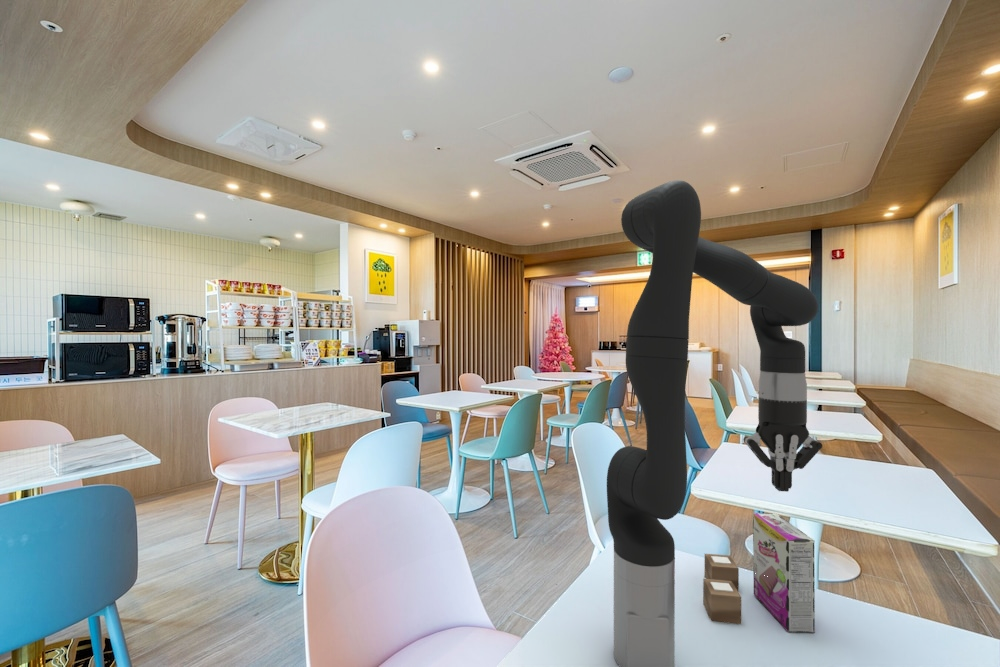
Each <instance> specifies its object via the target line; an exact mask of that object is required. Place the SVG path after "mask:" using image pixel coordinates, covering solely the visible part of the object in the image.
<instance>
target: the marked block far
mask: <svg viewBox="0 0 1000 667" xmlns="http://www.w3.org/2000/svg"><path fill="white" fill-rule="evenodd" d="M739 570H740V568H739V567H738V564H736V562H735V561H734V559H733V558H732V556H731V555H728V554H727V555H726V554H715V553H704V579H714V580H725V581H732V583H733V584H734V586H735V588H736V589H737V591H738V592H739V587H740V586H739V582H740V581H739V579H740V578H739V574H740V573H739ZM739 593H740V592H739Z"/></svg>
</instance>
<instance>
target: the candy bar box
mask: <svg viewBox="0 0 1000 667" xmlns="http://www.w3.org/2000/svg"><path fill="white" fill-rule="evenodd" d="M752 532H753V533H752V537H753V538H752V541H753V543H752V544H753V546H752V549H753V552H752V553H753V559H752V560H753V561H752V562H753V593H752V594H753V596H755V598H756V599H757V600H758V601H759V602H760V603H761V604H762V605H763V606H764V607H765V608H766V609H767V610H768V611H769V613H771V615H772V617H774V619H776V620H777V621H778V623H779V624H780V625H781V626H782V627H783V629H785V630H786V632H787V633H793V634H794V633H795V634H797V633H809V634H810V633H815V632H816V631H815V630H816V629H815V628H816V625H815V623H816V622H815V621H816V620H815V617H816V614H815V613H816V612H815V607H816V606H815V603H816V602H815V598H816V597H815V591H816V590H815V582H816V581H815V576H816V575H815V540H814V538H812V537H810V536H808V534H806V533H804V532H803V531H802V530H800V529H799V528H797V527H796V525H795V526H794V525H793V524H792V523H791V522H789V521H788V520H787V519H785V518H783V517H782V516H781V515H779V514H778V513H776V512H773V513H771V512H770V513H768V512H766V513H765V512H764V513H763V512H762V513H760V512H755V513H752ZM755 573H756V574H755ZM764 575H765V576H764ZM767 576H768V577H767Z"/></svg>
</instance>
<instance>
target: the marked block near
mask: <svg viewBox="0 0 1000 667" xmlns="http://www.w3.org/2000/svg"><path fill="white" fill-rule="evenodd" d="M702 581H703V582H702V584H703V586H702V590H703V591H702V592H703V594H702V595H703V596H702V599H703V600H702V601H703V603H702V605H703V606H704V607H703V608H705V611H706V612H707V615H708V617H709V620H710V621H711V622H714V623H725V624H732V625H735V624H736V625H742V596H741V593H740V592H738V591H737V589H736V588H735V586H734V584H733V583H732V581H725V580H714V579H706V578H703V580H702Z"/></svg>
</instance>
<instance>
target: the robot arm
mask: <svg viewBox="0 0 1000 667" xmlns="http://www.w3.org/2000/svg"><path fill="white" fill-rule="evenodd" d="M621 213H622V214H621V218H620V219H621V220H620V222H621V228H622V231H623V233H624V235H625V237H626V238H627V239H628V240H629V241H630V242H631V243H632V244H633V245H635V246H636V247H638V248H640V249H642V250H645V251H647V252H648V253H651V254H652V261H651V267H650V272H649V276H648V278H647V280H646V284H645V286H644V288H643V290H642V292H641V295H640V296H639V298H638V301H637V302H636V304H635V306H634V308H633V311H632V313H631V316H630V318H629V321H628V324H627V329H626V330H627V332H626V346H625V369H626V373H627V377H628V379H629V382H630V385H631V387H632V389H633V391H634V394H635V396H636V399H637V400H638V404H639V406H640V409H641V411H642V413H643V414H642V415H643V417H644V423H645V430H646V431H645V432H646V449H645V448H642V447H637V446H632V445H628V446H623V447H621V448H619V449H618V450H617V451H616V452H615V453H614V454H613V455H612V457H611V459H610V462H609V464H608V468H607V474H606V500H607V501H606V502H607V518H608V519H607V520H608V523H607V524H608V530H609V532H610V535H611V537H612V540H613V657H614V659H615V662H616V663H617V665H618V664H619V665H620V666H621V667H675V665H676V664H675V662H676V661H675V657H676V656H675V650H676V649H675V647H676V645H675V644H676V643H675V642H676V640H675V627H676V626H675V623H676V622H675V614H676V613H675V605H676V604H675V603H676V602H675V591H676V590H675V587H676V586H675V583H676V582H675V581H676V580H675V574H676V569H675V568H676V567H675V566H676V565H675V562H676V561H675V559H676V556H675V555H676V554H675V551H676V549H675V548H676V545H675V540H674V538H673V536H672V534H671V532H670V531H669V530H668V529H667V528H666V527H665V526H664V525H663V523H661V521H660V520H662V521H663V520H665V521H666V520H670V519H673V518H674V517H675V516H676V515H678V513H680V511H681V509H682V507H683V505H684V502H685V499H686V495H687V488H688V487H687V486H688V464H687V463H688V462H687V461H688V460H687V444H686V442H687V440H686V422H685V421H686V420H685V419H686V415H685V414H686V386H687V384H686V382H687V381H686V380H687V372H688V371H687V370H688V358H689V340H690V337H689V336H690V332H689V331H690V314H691V313H690V310H691V309H690V308H691V301H692V300H691V296H692V288H693V287H692V285H693V276H694V274H695V275H697V276H699V277H701V278H703V279H704V280H706V281H708V282H709V283H710V284H713V285H714V286H716V287H717V288H719V289H720V290H721V291H722V292H724V293H726V294H727V295H729V296H730V297H732V298H733V299H735V300H736V301H737V302H740V303H741V304H743V305H746V306H750V307H749V315H750V320H751V324H752V327H753V329H754V334H755V336H756V340H757V343H758V347H759V352H760V354H759V355H760V357H759V376H758V377H759V379H758V389H757V394H758V403H757V404H758V416H757V418H758V424H757V425H756V428H755V433H753V434H751V435H750V436H744V437H743V442H744V443H745V445H746V446H747V447H748V448H749V449H750V451H751V452H752V453H753V454H754V456H756V458H757V459H758V460H759V462H760V463H761V464H763V465H764V466H765V467H768V468H770V469H771V485H772V486H773V487H774V488H775V490H777V491H778V492H787V493H789V490H791V488H792V486H793V471H794V470H797V469H800V470H803V469H804V468H805V467H806V466H807V465H808V463H810V461H811V460H812V459H813V458H814V457H815V456H816V455H817V453H819V452H820V451H821V449H822V448H823V444H822V442H820V441H818V440H815V439H814V438H813V437H812V436H810V432H809V429H808V427H807V423H808V386H807V385H808V384H807V380H806V379H807V377H806V347H805V344H804V343H803V342H802V341H800V340H796V339H794V338H789V337H787V336H786V334H785V332H784V330H783V327H801V326H805V325H807V324H809V323H810V322H812V321H813V320H814V319H815V317H816V316H817V315H818V310H819V305H818V300H817V297H816V296H815V294H814V293H813V291H811V289H809V288H808V287H806V286H805V285H803V284H802V283H799V282H797V281H795V280H793V279H791V278H788V277H785V276H783V275H781V274H778V273H774V272H771V271H770V270H769V269H767V268H766V267H764V266H763V265H762V264H761V263H760V262H758V261H756V260H755V259H754V258H752V257H751V256H750V255H748V254H747V253H745V252H743V251H741V250H738V249H736V248H733V247H732V246H731V247H730V246H727V245H724V244H721V243H718V242H715V241H712V240H709V239H706V238H703V237H700V231H701V221H702V209H701V202H700V198H699V195H698V193H697V191H696V190H695V188H694V187H693V186H692V184H690V183H689V182H687V181H684V180H679V179H678V180H676V179H675V180H671V181H668V182H664V183H662V184H661V185H658V186H656V187H654V188H651V189H649V190H647V191H645V192H643V193H641V194H639V195H637V196H636V197H634V198H632V199H631V200H630V201H628V202H627V203H626V204H625V206H624V208H623V210H622V212H621ZM761 441H762V442H763V444H764V445H765V446H766V448H767V451H768V454H769V455H767V454H766V453H765V451H764V450H763V449H762V447H761V445H762V442H761ZM801 446H802V448H800V447H801ZM798 450H799V451H798ZM797 451H798V452H797ZM619 665H618V666H619ZM620 666H619V667H620Z"/></svg>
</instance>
